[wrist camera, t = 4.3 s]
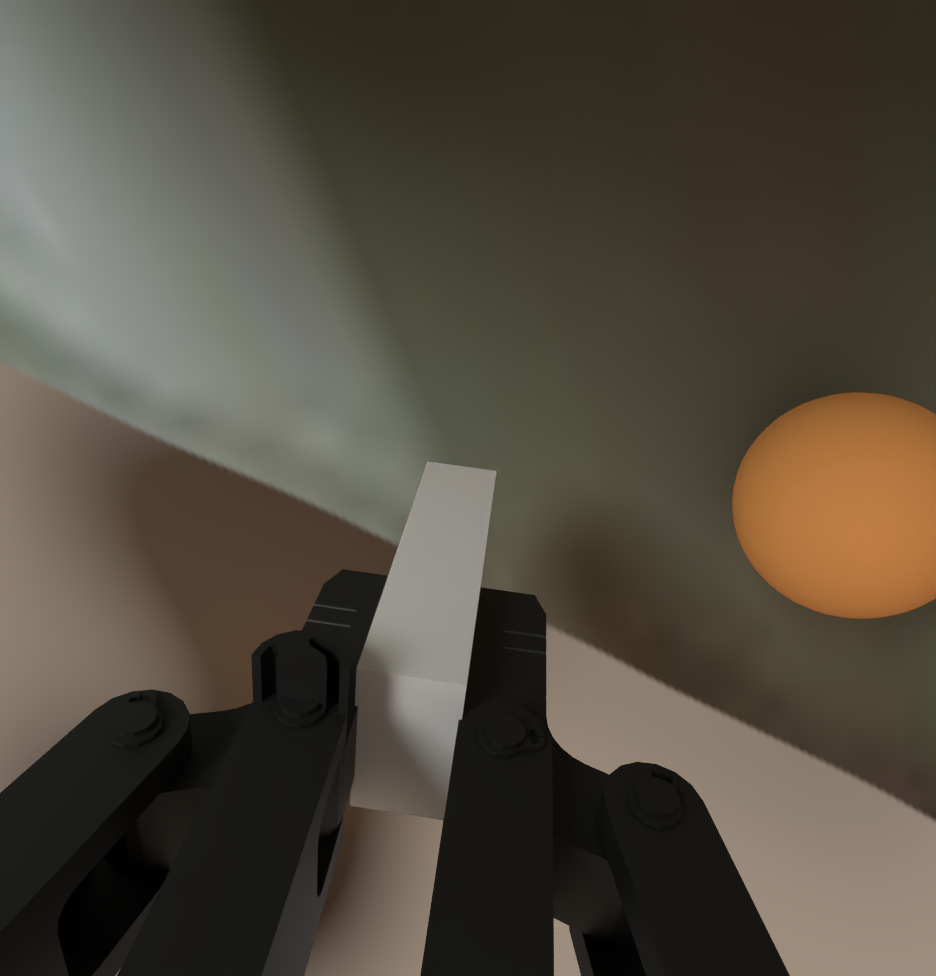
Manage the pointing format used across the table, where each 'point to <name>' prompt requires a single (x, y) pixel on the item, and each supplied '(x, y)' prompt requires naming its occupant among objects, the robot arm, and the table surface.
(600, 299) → the table surface
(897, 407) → the ball
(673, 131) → the table surface
